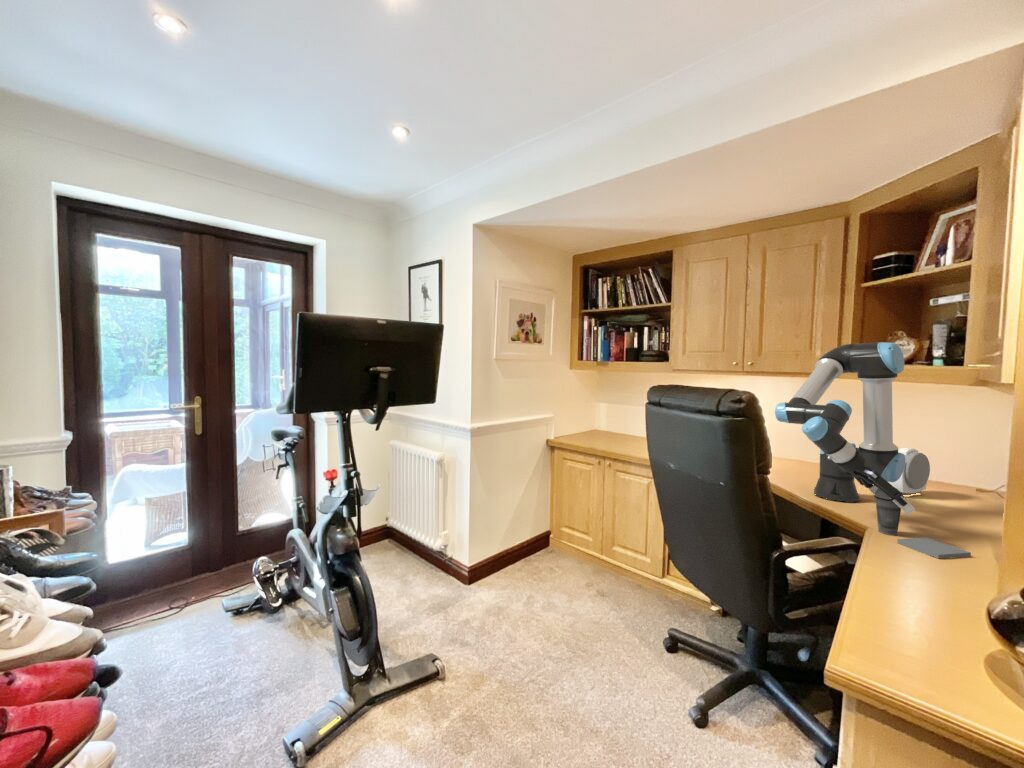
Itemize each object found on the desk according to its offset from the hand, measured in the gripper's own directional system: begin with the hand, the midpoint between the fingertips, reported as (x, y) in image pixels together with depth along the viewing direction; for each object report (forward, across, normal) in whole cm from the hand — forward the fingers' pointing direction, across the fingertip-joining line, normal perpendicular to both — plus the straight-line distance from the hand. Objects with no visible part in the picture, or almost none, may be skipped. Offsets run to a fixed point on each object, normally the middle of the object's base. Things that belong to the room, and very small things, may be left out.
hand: (898, 506), depth 136 cm
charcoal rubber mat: (+7, +12, -5) cm, 15 cm away
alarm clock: (+31, -53, +18) cm, 64 cm away
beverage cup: (+4, 0, -9) cm, 10 cm away
